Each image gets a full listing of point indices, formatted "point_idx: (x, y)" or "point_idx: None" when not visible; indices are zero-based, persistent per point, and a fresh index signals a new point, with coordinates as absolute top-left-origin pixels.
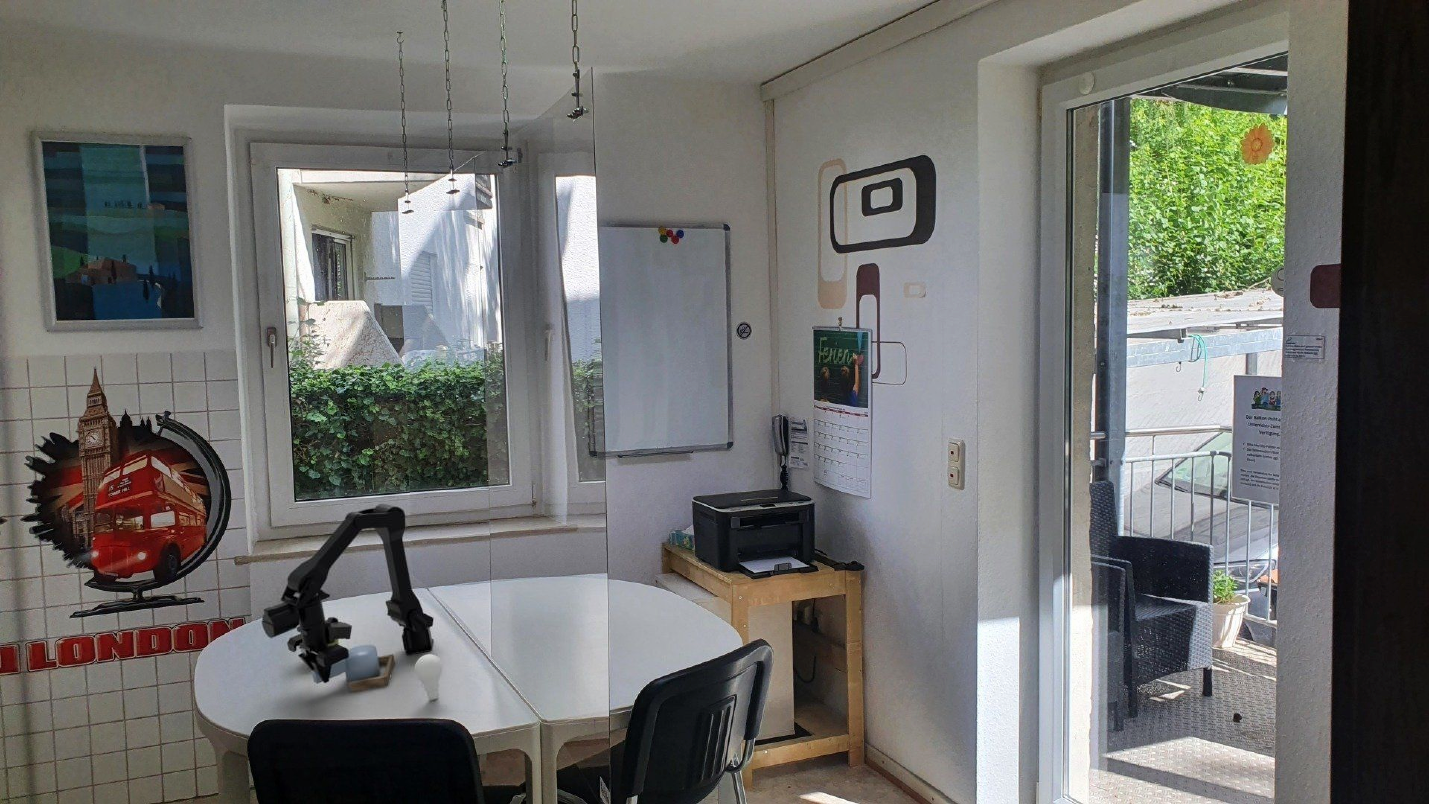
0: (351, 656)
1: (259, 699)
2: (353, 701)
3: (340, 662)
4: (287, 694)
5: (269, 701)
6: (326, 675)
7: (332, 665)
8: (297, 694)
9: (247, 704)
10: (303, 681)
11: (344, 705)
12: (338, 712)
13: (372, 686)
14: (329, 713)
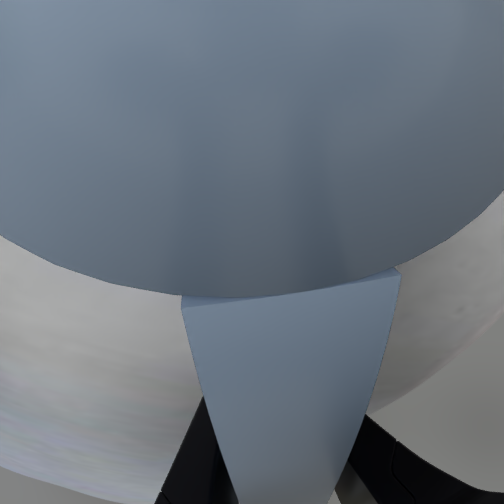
0: (360, 69)
1: (94, 469)
2: (476, 235)
3: (377, 359)
4: (109, 430)
5: (131, 465)
6: None
7: (350, 442)
8: (138, 414)
9: (110, 484)
10: (8, 359)
11: (466, 279)
12: (478, 311)
13: None
14: (453, 339)
